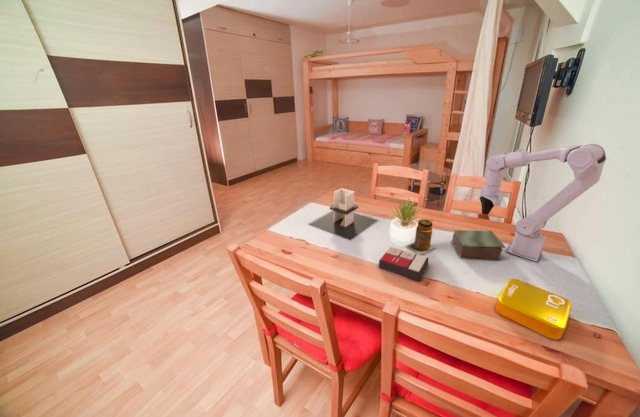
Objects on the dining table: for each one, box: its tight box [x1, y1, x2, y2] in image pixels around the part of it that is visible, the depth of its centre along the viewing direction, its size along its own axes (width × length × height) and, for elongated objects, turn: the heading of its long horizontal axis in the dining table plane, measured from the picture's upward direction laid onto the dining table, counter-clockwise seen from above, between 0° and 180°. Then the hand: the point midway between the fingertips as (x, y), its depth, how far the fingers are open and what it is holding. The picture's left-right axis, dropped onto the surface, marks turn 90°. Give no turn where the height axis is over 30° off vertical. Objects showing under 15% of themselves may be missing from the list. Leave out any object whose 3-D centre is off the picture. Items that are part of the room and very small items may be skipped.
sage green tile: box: [453, 229, 506, 249], centre depth 103 cm, size 14×12×1 cm
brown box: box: [451, 231, 503, 261], centre depth 105 cm, size 14×12×5 cm
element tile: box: [495, 278, 572, 341], centre depth 76 cm, size 15×15×5 cm
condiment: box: [406, 218, 434, 256], centre depth 107 cm, size 7×8×12 cm
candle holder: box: [309, 188, 378, 241], centre depth 129 cm, size 25×24×16 cm
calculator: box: [378, 246, 429, 282], centre depth 97 cm, size 11×4×15 cm
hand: (485, 214), depth 112 cm, fingers closed
